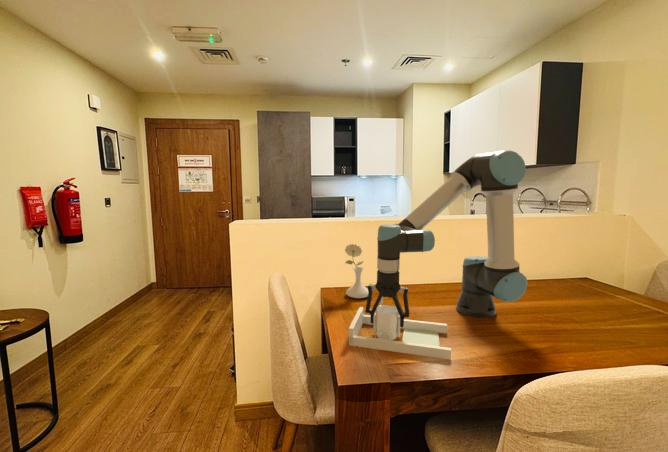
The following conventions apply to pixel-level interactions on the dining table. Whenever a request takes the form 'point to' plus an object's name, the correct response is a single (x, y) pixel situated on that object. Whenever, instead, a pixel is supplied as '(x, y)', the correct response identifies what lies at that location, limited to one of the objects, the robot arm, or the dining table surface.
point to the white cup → (387, 322)
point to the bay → (415, 337)
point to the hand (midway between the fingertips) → (386, 333)
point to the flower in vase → (357, 288)
